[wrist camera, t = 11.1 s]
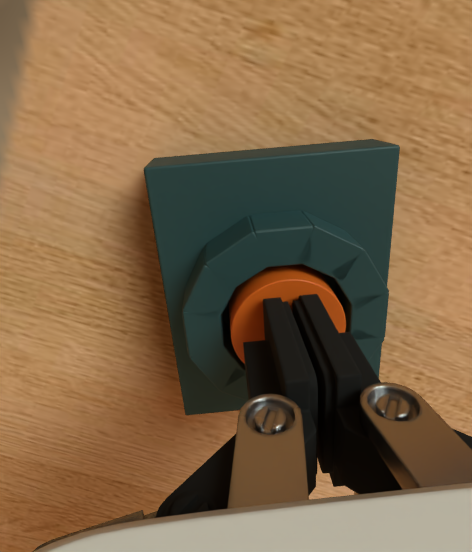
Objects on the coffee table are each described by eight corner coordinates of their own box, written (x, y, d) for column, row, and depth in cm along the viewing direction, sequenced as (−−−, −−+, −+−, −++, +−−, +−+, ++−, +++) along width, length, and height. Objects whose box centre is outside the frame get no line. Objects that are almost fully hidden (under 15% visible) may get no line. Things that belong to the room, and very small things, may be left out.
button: (224, 262, 13) (225, 285, 11) (331, 252, 13) (348, 273, 11) (232, 352, 14) (235, 383, 13) (329, 343, 14) (343, 373, 13)
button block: (152, 158, 14) (131, 178, 10) (374, 138, 14) (430, 152, 10) (188, 381, 18) (182, 452, 14) (359, 364, 18) (396, 430, 15)
